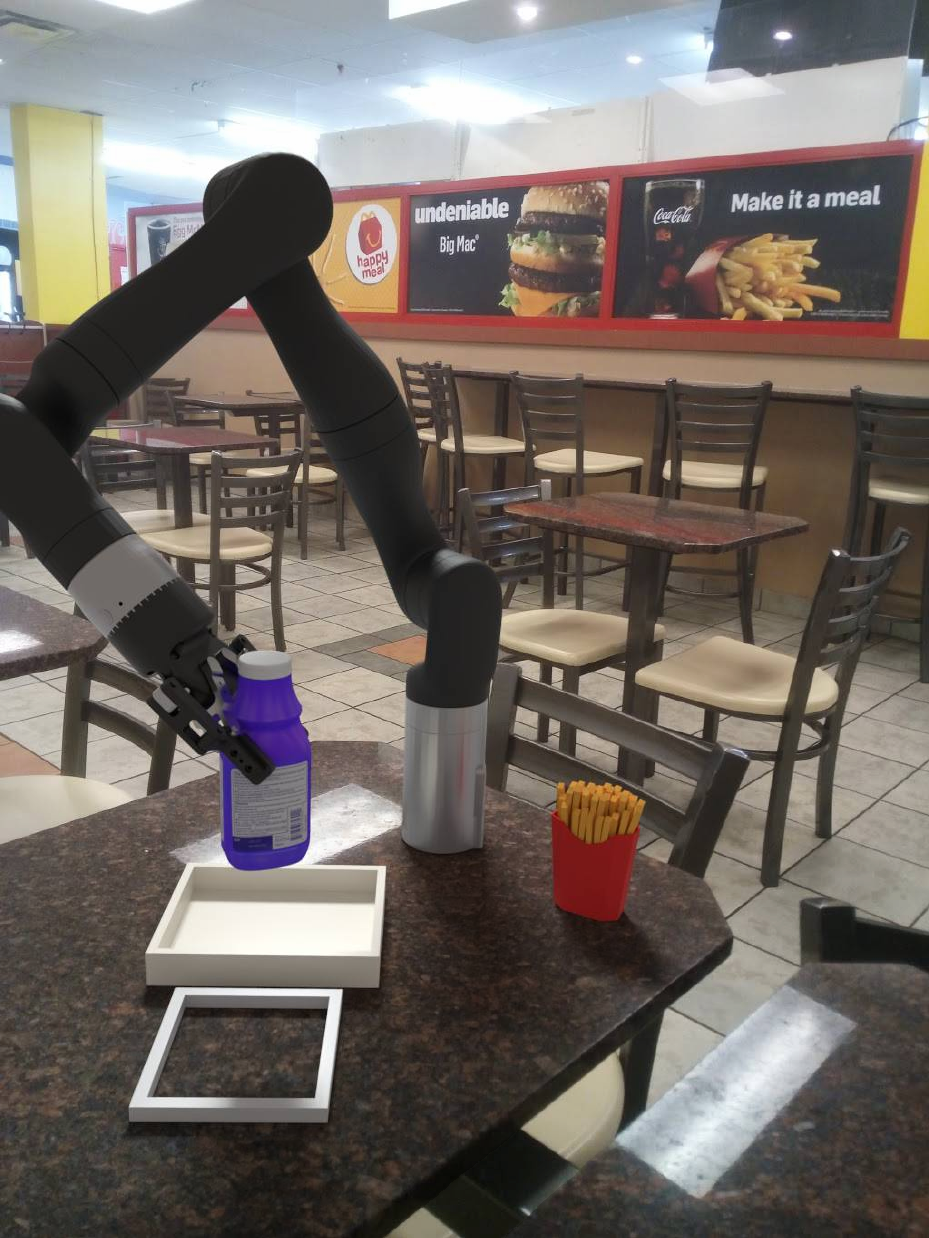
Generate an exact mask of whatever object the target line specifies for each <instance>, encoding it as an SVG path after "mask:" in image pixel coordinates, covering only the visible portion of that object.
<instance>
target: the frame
mask: <svg viewBox="0 0 929 1238" xmlns="http://www.w3.org/2000/svg"><path fill="white" fill-rule="evenodd" d="M343 992H344V990H343V988H339V989H338V988H278V987H277V988H273V987H272V988H270V987H267V988H264V987H263V988H262V987H259V988H258V987H188V986H187V987H183V986H182V987H181V986H179V987H175V988H174V991H173V994H172V997H171V999H170V1001H169V1004H168V1006H167V1009H166V1011H165V1014H164V1017H163V1019H162V1022H161V1023H160V1027H159V1029H158V1032H157V1034H156V1037H155V1039H154V1042H153V1043H152V1047H151V1049H150V1052H149V1055H148V1058H147V1059H146V1063H145V1065H144V1067H143V1069H142V1072H141V1076H140V1077H139V1080H138V1082H137V1085H136V1087H135V1090H134V1092H133V1095H132V1097H131V1101H130V1102H129V1106H128V1122H131V1123H132V1122H135V1123H137V1122H138V1123H140V1122H142V1123H143V1122H144V1123H148V1122H149V1123H151V1122H152V1123H153V1122H154V1123H155V1122H156V1123H158V1122H159V1123H165V1122H166V1123H172V1122H173V1123H176V1122H177V1123H184V1122H185V1123H324V1124H325V1123H328V1121H329V1112H330V1106H331V1105H330V1104H331V1096H332V1090H333V1089H332V1088H333V1080H334V1074H335V1073H334V1072H335V1065H336V1056H337V1049H338V1040H339V1032H340V1026H341V1025H340V1024H341V1017H342V1016H341V1015H342V1008H343V1002H344V1001H343V999H344V997H343V995H344V993H343ZM186 1008H206V1009H207V1008H208V1009H209V1008H211V1009H212V1008H215V1009H216V1008H217V1009H219V1008H220V1009H221V1008H222V1009H224V1008H227V1009H233V1008H234V1009H238V1008H239V1009H303V1010H304V1009H309V1010H310V1009H313V1010H314V1009H321V1010H322V1009H323V1010H324V1009H325V1010H326V1009H327V1015H326V1021H325V1028H324V1034H323V1040H322V1047H321V1052H320V1053H321V1055H320V1060H319V1061H320V1062H319V1068H318V1075H317V1081H316V1082H317V1083H316V1089H315V1095H314V1098H313V1097H311V1098H310V1097H307V1098H306V1097H301V1098H300V1097H298V1098H297V1097H179V1096H178V1097H175V1096H172V1097H167V1096H166V1097H164V1096H163V1097H160V1096H159V1097H158V1096H157V1097H155V1096H154V1095H155V1093H156V1089H157V1087H158V1083H159V1080H160V1078H161V1075H162V1072H163V1070H164V1067H165V1064H166V1062H167V1059H168V1057H169V1054H170V1051H171V1048H172V1046H173V1043H174V1041H175V1037H176V1034H177V1033H178V1029H179V1027H180V1024H181V1021H182V1019H183V1015H184V1012H185V1010H186Z"/></svg>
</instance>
